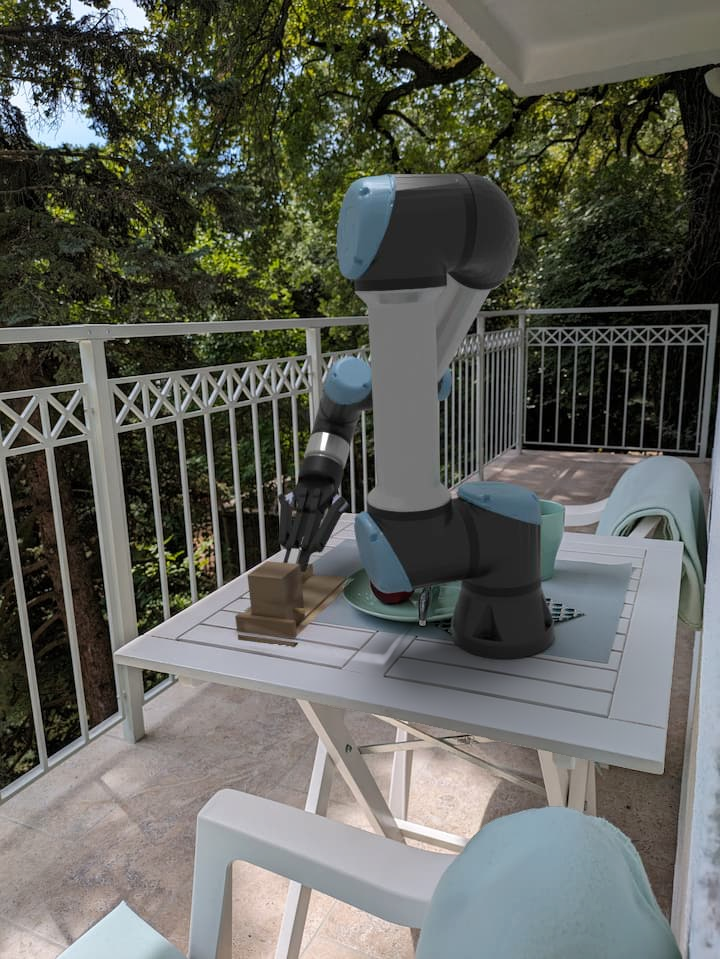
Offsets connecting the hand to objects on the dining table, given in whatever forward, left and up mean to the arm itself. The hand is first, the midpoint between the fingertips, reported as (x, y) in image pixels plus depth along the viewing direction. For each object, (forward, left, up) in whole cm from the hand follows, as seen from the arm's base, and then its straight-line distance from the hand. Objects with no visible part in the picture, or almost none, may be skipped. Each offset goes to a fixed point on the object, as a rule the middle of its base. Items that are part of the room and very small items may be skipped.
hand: (288, 588), depth 119 cm
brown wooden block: (-3, +3, -4) cm, 6 cm away
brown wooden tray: (+3, -2, -6) cm, 6 cm away
